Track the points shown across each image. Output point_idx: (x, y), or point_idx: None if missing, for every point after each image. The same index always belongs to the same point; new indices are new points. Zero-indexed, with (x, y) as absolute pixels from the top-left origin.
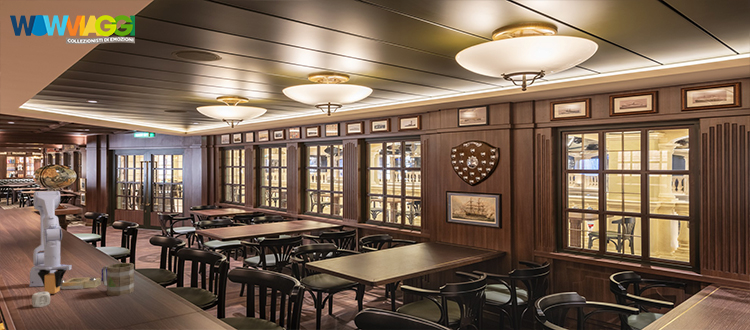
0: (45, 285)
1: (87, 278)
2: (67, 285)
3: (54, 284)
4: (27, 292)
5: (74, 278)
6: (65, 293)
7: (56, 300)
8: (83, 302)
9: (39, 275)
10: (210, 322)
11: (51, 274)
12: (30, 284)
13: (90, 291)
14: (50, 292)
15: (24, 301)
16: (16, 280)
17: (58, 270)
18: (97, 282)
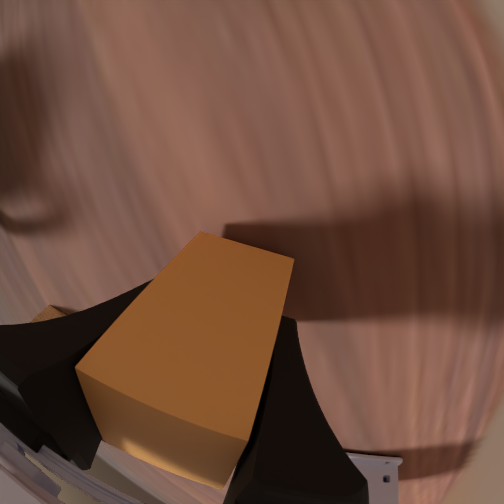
0: (270, 310)
1: None
2: None
3: (157, 278)
4: (422, 384)
5: None
6: (142, 247)
7: (141, 36)
8: (16, 3)
9: (341, 458)
10: None
11: (154, 433)
12: (395, 468)
13: (32, 231)
14: (235, 247)
15: (431, 103)
16: (422, 499)
17: (24, 423)
18: None
